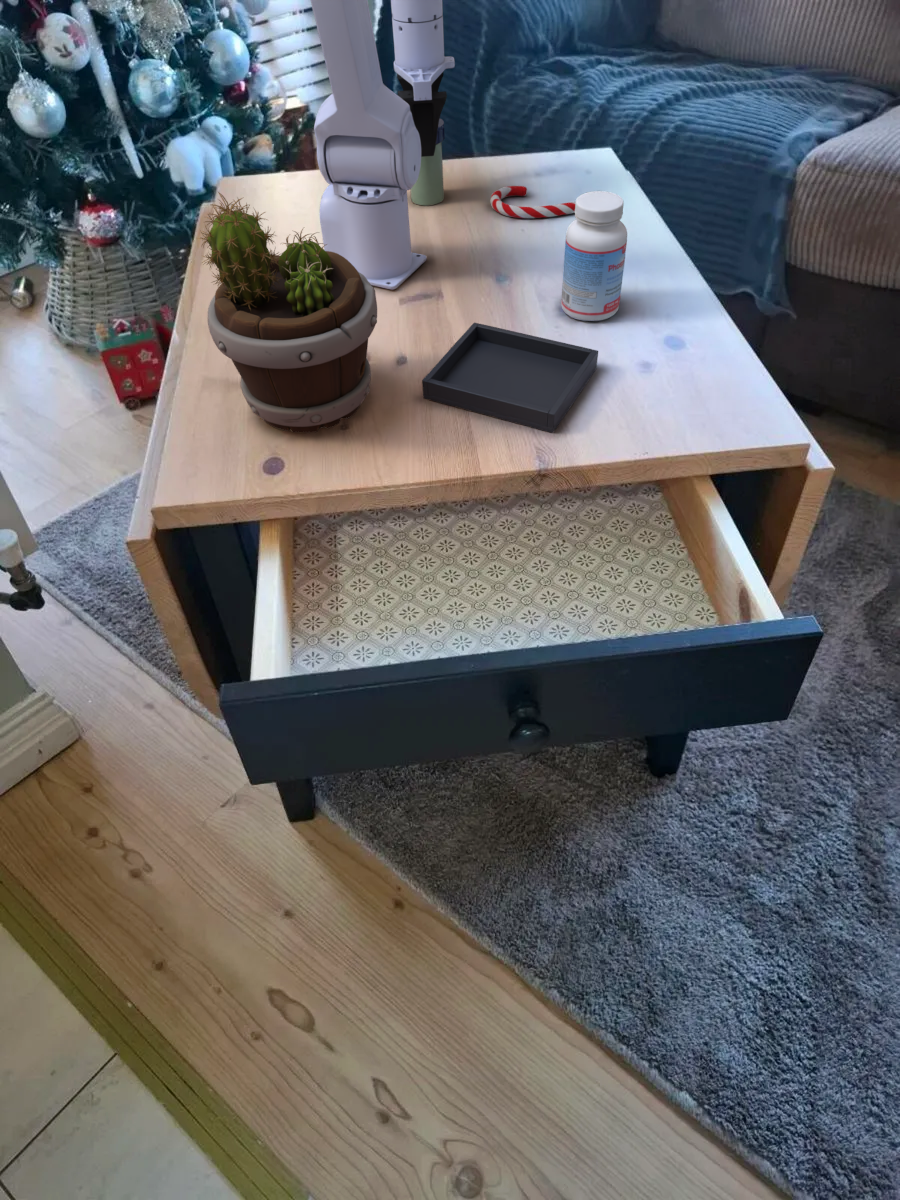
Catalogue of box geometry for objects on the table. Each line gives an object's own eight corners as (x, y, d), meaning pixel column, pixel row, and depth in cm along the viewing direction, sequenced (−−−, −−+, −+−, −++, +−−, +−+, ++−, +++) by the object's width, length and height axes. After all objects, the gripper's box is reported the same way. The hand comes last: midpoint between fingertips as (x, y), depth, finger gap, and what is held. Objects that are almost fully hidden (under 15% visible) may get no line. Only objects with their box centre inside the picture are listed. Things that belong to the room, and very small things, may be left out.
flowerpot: (379, 350, 85) (355, 138, 70) (394, 442, 75) (370, 216, 60) (235, 366, 84) (180, 154, 69) (230, 461, 74) (164, 237, 59)
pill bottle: (616, 325, 86) (630, 216, 78) (557, 321, 87) (564, 212, 79) (620, 296, 90) (633, 189, 82) (564, 292, 91) (571, 186, 83)
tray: (423, 398, 79) (421, 380, 78) (474, 339, 86) (474, 322, 84) (553, 433, 75) (554, 414, 73) (596, 368, 81) (598, 350, 80)
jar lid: (396, 143, 103) (395, 127, 102) (415, 129, 106) (414, 113, 104) (432, 149, 101) (431, 133, 100) (451, 134, 104) (450, 118, 103)
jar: (405, 202, 108) (399, 130, 102) (420, 189, 111) (416, 118, 104) (434, 207, 107) (430, 135, 101) (449, 194, 109) (447, 122, 103)
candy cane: (613, 206, 102) (490, 210, 103) (612, 217, 103) (490, 221, 104) (606, 180, 107) (489, 184, 108) (605, 190, 108) (489, 194, 109)
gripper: (456, 32, 89) (460, 166, 99) (449, -4, 99) (453, 122, 109) (390, 36, 89) (401, 170, 99) (389, 0, 99) (399, 125, 109)
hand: (424, 145), depth 104 cm, fingers open, 6 cm apart
